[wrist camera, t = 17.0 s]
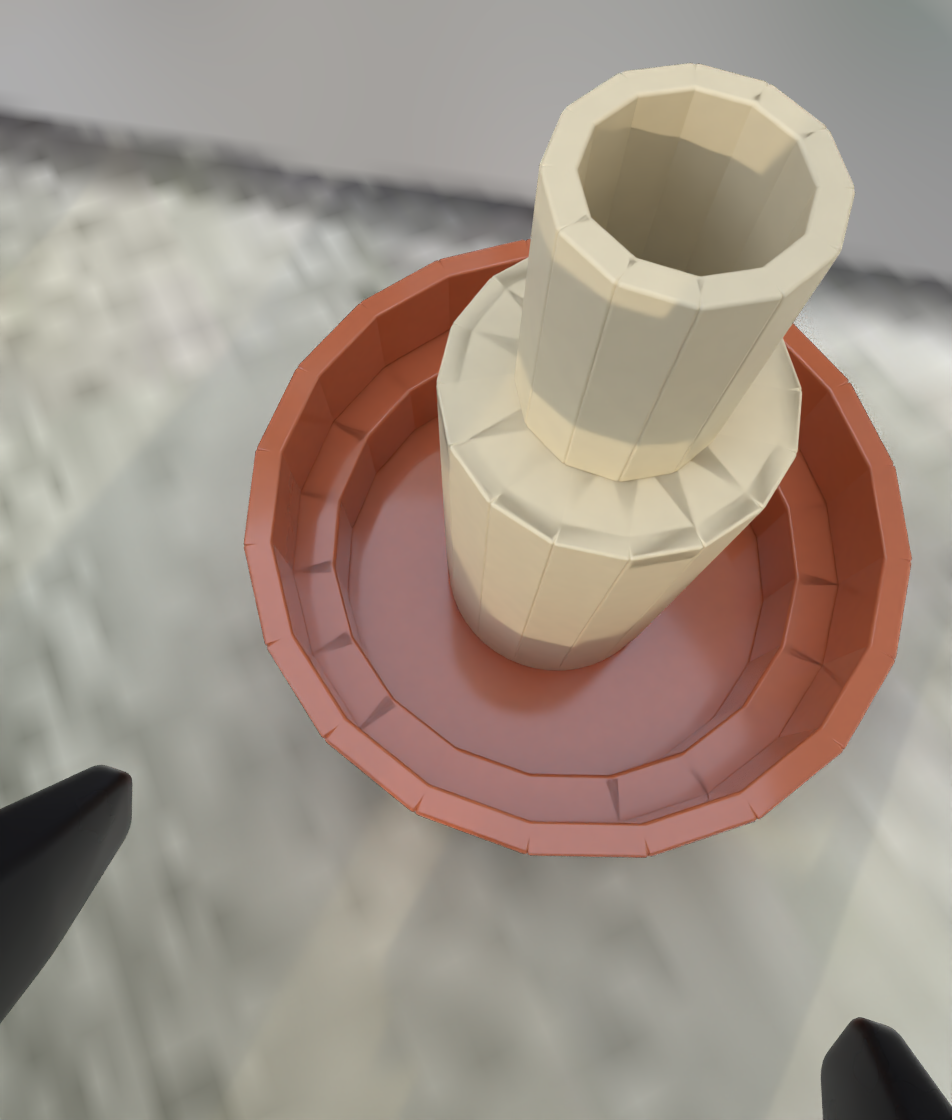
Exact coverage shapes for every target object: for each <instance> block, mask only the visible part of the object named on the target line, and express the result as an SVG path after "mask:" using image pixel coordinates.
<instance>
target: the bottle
mask: <svg viewBox="0 0 952 1120" xmlns="http://www.w3.org/2000/svg"><path fill="white" fill-rule="evenodd" d="M854 195H855V191H854V184H853V182H852V180H851V178H850V175H849V173H848V171H847V169H846V166H845V164H844V162H843V159H842V157H841V155H840V153H839V151H838V148H837V146H836V144H835V142H834V139H833V137H832V135H831V132H830V131H829V130H828V129H826V126H825V125H824V124H823V123H822V122H820V121H819V120H818V119H816V118H815V117H814V116H813V115H811V114H810V113H809V112H807V111H806V110H805V109H803V108H802V107H801V106H800V105H798V104H797V103H796V102H794V101H793V100H792V99H790V98H789V97H788V96H787V95H785V94H784V93H783V92H781V91H780V90H779V89H778V88H776V87H775V86H774V85H772V84H768V83H767V82H766V81H762V80H759V79H755V78H751V77H747V76H744V75H740V74H736V73H733V72H728V71H725V70H721V69H717V68H714V67H710V66H706V65H703V64H695V65H694V64H693V63H686V64H678V65H669V66H661V67H653V68H645V69H636V70H628V71H624V72H622V73H618V74H616V75H614V76H613V77H612V78H610V79H608V80H607V81H605V82H604V83H602V84H601V85H599V86H597V87H596V88H594V89H593V90H592V91H590V92H588V93H587V94H585V95H584V96H582V97H580V98H579V99H578V100H576V101H575V102H573V103H571V104H570V105H568V106H567V107H566V109H565V110H564V111H563V112H562V113H561V115H560V118H559V120H558V123H557V125H556V127H555V129H554V132H553V134H552V137H551V139H550V141H549V144H548V146H547V148H546V151H545V153H544V156H543V158H542V160H541V162H540V165H539V174H538V182H537V191H536V199H535V207H534V216H533V224H532V233H531V241H530V249H529V257H528V258H526V259H524V260H522V261H521V262H519V263H517V264H515V265H513V266H511V267H509V268H507V269H505V270H503V271H502V272H500V273H498V274H496V275H494V276H493V277H492V278H490V279H489V280H488V281H487V283H486V284H485V285H484V286H483V287H482V289H481V290H480V291H479V292H478V293H477V295H476V296H475V297H474V298H473V299H472V301H471V302H470V303H469V304H468V305H467V307H466V308H465V309H464V310H463V311H462V313H461V314H460V315H459V316H458V317H457V319H456V320H455V321H454V322H453V325H452V326H451V328H450V332H449V336H448V340H447V344H446V347H445V351H444V355H443V359H442V362H441V366H440V370H439V374H438V377H437V386H436V390H437V406H438V422H439V439H440V455H441V471H442V487H443V504H444V520H445V536H446V553H447V563H448V568H449V575H450V583H451V588H452V592H453V596H454V599H455V601H456V604H457V606H458V609H459V611H460V613H461V614H462V616H463V618H464V620H465V621H466V623H467V624H468V625H469V627H470V628H471V629H472V631H473V632H474V633H475V634H476V635H477V636H478V637H479V638H480V639H481V640H482V641H483V642H484V643H485V644H486V645H487V646H489V647H490V648H491V649H493V650H494V651H495V652H497V653H499V654H500V655H502V656H504V657H505V658H507V659H509V660H512V661H514V662H516V663H519V664H521V665H525V666H529V667H532V668H537V669H544V670H571V669H578V668H582V667H586V666H590V665H593V664H595V663H598V662H600V661H603V660H605V659H606V658H608V657H610V656H612V655H613V654H615V653H616V652H618V651H619V650H620V649H622V648H623V647H624V646H626V645H627V644H628V643H629V642H631V641H632V640H634V639H635V638H636V637H637V636H638V635H639V634H640V633H641V632H642V631H643V630H644V629H645V628H646V627H647V626H648V625H649V624H650V623H651V622H652V621H653V620H654V619H655V618H656V617H657V616H658V615H659V614H660V613H661V612H662V611H663V610H664V609H665V608H666V607H667V606H668V605H669V604H670V603H671V602H672V601H673V600H674V599H675V598H676V597H677V596H678V595H679V594H680V593H681V592H682V591H683V590H684V589H685V588H686V587H687V586H688V585H689V584H690V583H691V582H692V581H693V580H694V579H695V578H696V577H697V576H698V575H699V574H700V573H701V572H702V571H703V570H704V569H705V568H706V567H707V566H708V565H709V564H710V563H711V562H712V561H713V560H714V559H715V558H716V557H717V556H718V555H719V554H720V553H721V552H722V551H723V550H724V549H725V548H726V547H727V546H728V545H729V544H730V543H731V542H732V541H733V540H734V539H735V538H736V537H737V536H738V535H739V534H740V533H741V532H742V531H743V530H744V529H745V528H746V527H747V526H748V524H749V523H750V522H751V521H752V520H753V519H754V518H755V517H756V516H757V515H758V514H759V513H760V512H761V511H762V510H763V509H764V508H765V507H766V505H767V504H768V502H769V500H770V499H771V497H772V495H773V494H774V492H775V490H776V489H777V487H778V485H779V484H780V482H781V480H782V479H783V477H784V476H785V474H786V472H787V471H788V469H789V467H790V466H791V464H792V462H793V461H794V459H795V457H796V453H797V452H798V440H799V427H800V415H801V402H802V391H801V385H800V383H799V380H798V377H797V374H796V372H795V369H794V366H793V364H792V361H791V358H790V356H789V353H788V350H787V348H786V345H785V342H784V340H783V337H784V335H785V334H786V332H787V331H788V329H789V328H790V327H791V325H792V324H793V322H794V321H795V319H796V318H797V316H798V315H799V313H800V312H801V310H802V309H803V307H804V306H805V304H806V303H807V301H808V300H809V298H810V297H811V295H812V294H813V292H814V291H815V289H816V288H817V286H818V285H819V284H820V282H821V281H822V279H823V278H824V276H825V275H826V273H827V272H828V270H829V269H830V267H831V266H832V264H833V263H834V261H835V260H836V258H837V257H838V255H839V254H840V252H841V250H842V246H843V242H844V237H845V233H846V229H847V225H848V221H849V217H850V212H851V208H852V204H853V200H854Z"/></svg>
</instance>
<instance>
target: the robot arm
mask: <svg viewBox="0 0 952 1120" xmlns="http://www.w3.org/2000/svg"><path fill="white" fill-rule="evenodd" d="M131 819H132V778H131V776H130V775H129V774H128V773H126V772H124V771H121V770H118V769H115V768H112V767H109V766H105V765H97V766H93V767H91V768H88V769H86V770H84V771H82V772H80V773H78V774H75V775H73V776H71V777H69V778H67V779H65V780H62V781H60V782H58V783H56V784H54V785H52V786H49V787H47V788H45V789H43V790H41V791H39V792H36V793H34V794H32V795H30V796H28V797H25V798H23V799H21V800H19V801H17V802H15V803H12V804H10V805H8V806H6V807H4V808H2V809H0V1023H1V1022H2V1021H3V1019H4V1018H5V1017H6V1015H7V1014H8V1013H9V1011H10V1010H11V1009H12V1007H13V1006H14V1005H15V1004H16V1002H17V1001H18V1000H19V998H20V997H21V996H22V994H23V993H24V992H25V990H26V989H27V988H28V987H29V985H30V984H31V983H32V981H33V980H34V979H35V977H36V976H37V975H38V973H39V972H40V971H41V969H42V968H43V967H44V965H45V964H46V962H47V961H48V960H49V958H50V957H51V956H52V954H53V953H54V951H55V950H56V948H57V947H58V945H59V943H60V942H61V940H62V939H63V937H64V936H65V934H66V933H67V931H68V929H69V928H70V926H71V925H72V923H73V921H74V920H75V918H76V917H77V915H78V913H79V912H80V910H81V909H82V907H83V905H84V904H85V902H86V901H87V899H88V897H89V896H90V894H91V893H92V891H93V889H94V888H95V886H96V884H97V883H98V881H99V880H100V878H101V876H102V875H103V873H104V872H105V870H106V868H107V867H108V865H109V864H110V862H111V860H112V859H113V857H114V856H115V854H116V852H117V851H118V849H119V848H120V846H121V844H122V843H123V841H124V839H125V838H126V835H127V833H128V831H129V828H130V825H131ZM821 1090H822V1109H823V1120H952V1106H951V1105H950V1103H949V1102H948V1101H947V1099H946V1098H945V1096H944V1095H943V1094H942V1092H941V1091H940V1090H939V1088H938V1087H937V1085H936V1084H935V1083H934V1081H933V1080H932V1078H931V1077H930V1076H929V1074H928V1073H927V1072H926V1070H925V1069H924V1067H923V1066H922V1065H921V1063H920V1062H919V1060H918V1059H917V1058H916V1056H915V1055H914V1054H913V1052H912V1051H911V1049H910V1048H909V1047H908V1045H907V1044H906V1042H905V1041H904V1040H903V1038H902V1037H901V1036H900V1035H899V1034H898V1033H897V1032H896V1031H895V1030H894V1029H892V1028H891V1027H889V1026H886V1025H883V1024H880V1023H877V1022H874V1021H871V1020H868V1019H865V1018H861V1017H858V1018H856V1019H853V1020H852V1021H851V1022H850V1023H849V1024H848V1026H847V1027H846V1028H845V1030H844V1031H843V1032H842V1034H841V1035H840V1036H839V1038H838V1039H837V1040H836V1042H835V1043H834V1044H833V1046H832V1047H831V1048H830V1050H829V1051H828V1052H827V1054H826V1055H825V1058H824V1060H823V1064H822V1068H821Z"/></svg>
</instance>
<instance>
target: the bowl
mask: <svg viewBox="0 0 952 1120" xmlns="http://www.w3.org/2000/svg"><path fill="white" fill-rule="evenodd" d="M530 241H531V239H527V240H526V241H525V240H519V241H515V242H511V243H507V244H502V245H498V246H494V247H490V248H485V249H481V250H477V251H473V252H468V253H464V254H460V255H456V256H451V257H447V258H443V259H440V260H439V261H438V260H437V261H434V262H433V263H431V264H429V265H427V266H425V267H424V268H422V269H420V270H418V271H416V272H414V273H413V274H411V275H409V276H407V277H405V278H404V279H402V280H400V281H398V282H396V283H394V284H393V285H391V286H389V287H387V288H385V289H384V290H382V291H380V292H378V293H376V294H374V295H373V296H371V297H369V298H367V299H365V300H364V301H362V302H361V304H358V305H357V306H356V307H355V308H354V309H353V310H352V311H351V312H350V313H349V314H348V315H347V316H346V317H345V318H344V319H343V320H342V321H341V322H340V323H339V324H338V325H337V327H336V328H335V329H334V330H333V331H332V332H331V333H330V334H329V335H328V336H327V337H326V338H325V339H324V340H323V341H322V342H321V343H320V344H319V345H318V346H317V347H316V348H315V349H314V350H313V351H312V352H311V353H310V354H309V355H308V356H307V357H306V358H305V359H304V360H303V361H302V362H301V363H300V364H299V366H298V368H297V369H296V370H295V372H294V374H293V376H292V378H291V380H290V382H289V384H288V386H287V388H286V390H285V392H284V394H283V396H282V398H281V400H280V402H279V404H278V407H277V409H276V411H275V413H274V415H273V417H272V419H271V421H270V423H269V425H268V427H267V429H266V431H265V433H264V435H263V437H262V439H261V441H260V443H259V445H258V447H257V450H256V452H255V459H254V467H253V475H252V483H251V490H250V498H249V506H248V514H247V522H246V530H245V538H244V545H245V546H244V550H245V555H246V560H247V564H248V569H249V573H250V578H251V583H252V587H253V592H254V596H255V601H256V606H257V610H258V615H259V619H260V624H261V629H262V633H263V638H264V642H265V645H266V646H267V650H268V651H269V653H270V654H271V656H272V658H273V659H274V661H275V663H276V664H277V666H278V667H279V669H280V671H281V672H282V674H283V676H284V677H285V679H286V680H287V682H288V684H289V685H290V687H291V688H292V690H293V692H294V693H295V695H296V697H297V698H298V700H299V701H300V703H301V705H302V706H303V708H304V709H305V711H306V713H307V714H308V716H309V718H310V719H311V721H312V722H313V724H314V726H315V727H316V729H317V731H318V732H319V734H320V735H321V737H322V738H324V739H325V741H326V743H328V744H329V745H330V746H331V747H333V748H334V749H335V750H336V751H337V752H339V753H340V754H341V755H342V756H344V757H345V758H346V759H347V760H349V761H350V762H351V763H352V764H353V765H355V766H356V767H357V768H358V769H360V770H361V771H362V772H363V773H364V774H366V775H367V776H368V777H369V778H371V779H372V780H373V781H374V782H376V783H377V784H378V785H379V786H380V787H382V788H383V789H384V790H385V791H387V792H388V793H389V794H390V795H392V796H393V797H394V798H395V799H396V800H398V801H399V802H400V803H401V804H403V805H404V806H405V807H406V808H407V809H409V810H410V811H412V812H415V813H416V814H417V815H419V816H421V817H424V818H427V819H430V820H432V821H435V822H438V823H440V824H443V825H446V826H449V827H451V828H454V829H457V830H459V831H462V832H465V833H468V834H470V835H473V836H476V837H478V838H481V839H484V840H487V841H489V842H492V843H495V844H497V845H500V846H503V847H506V848H508V849H511V850H514V851H516V852H519V853H522V854H528V855H530V856H577V857H629V858H646V857H647V856H654V855H657V854H660V853H663V852H666V851H669V850H672V849H675V848H678V847H681V846H684V845H687V844H690V843H693V842H696V841H699V840H702V839H705V838H708V837H711V836H714V835H717V834H720V833H723V832H726V831H728V830H731V829H734V828H737V827H740V826H743V825H746V824H749V823H752V822H755V821H756V820H757V819H761V818H762V817H763V816H765V815H766V814H767V813H768V812H769V811H771V810H772V809H773V808H774V807H776V806H777V805H778V804H779V803H781V802H782V801H783V800H784V799H785V798H787V797H788V796H789V795H790V794H792V793H793V792H794V791H795V790H796V789H798V788H799V787H800V786H801V785H803V784H804V783H805V782H806V781H808V780H809V779H810V778H811V777H812V776H814V775H815V774H816V773H817V772H819V771H820V770H821V769H822V768H823V767H825V766H826V765H827V764H828V763H830V762H831V761H832V760H833V759H835V758H836V757H837V756H838V755H839V754H841V753H842V751H843V749H845V748H846V746H847V744H848V742H849V741H850V739H851V737H852V736H853V734H854V732H855V730H856V729H857V727H858V725H859V723H860V722H861V720H862V718H863V716H864V715H865V713H866V711H867V709H868V708H869V706H870V704H871V702H872V701H873V699H874V697H875V695H876V694H877V692H878V690H879V688H880V687H881V685H882V683H883V681H884V680H885V678H886V676H887V674H888V673H889V671H890V669H891V667H892V666H893V664H894V662H895V660H894V659H895V658H896V655H897V648H898V642H899V636H900V630H901V624H902V618H903V611H904V605H905V599H906V593H907V587H908V581H909V574H910V568H911V562H910V561H911V560H912V557H911V552H910V546H909V541H908V535H907V529H906V524H905V518H904V513H903V507H902V502H901V496H900V491H899V485H898V480H897V474H896V468H895V466H893V462H892V460H891V458H890V456H889V454H888V452H887V450H886V449H885V447H884V445H883V443H882V441H881V439H880V437H879V435H878V433H877V432H876V430H875V428H874V426H873V424H872V422H871V420H870V418H869V417H868V415H867V413H866V411H865V409H864V407H863V405H862V403H861V402H860V400H859V398H858V396H857V394H856V392H855V390H854V388H853V387H852V385H851V383H848V379H847V378H846V377H845V376H844V375H843V374H842V373H841V372H840V371H839V370H838V369H837V368H836V367H835V366H834V365H833V364H832V363H831V362H830V361H829V360H828V359H827V358H826V356H825V355H824V354H823V353H822V352H821V351H820V350H819V349H818V348H817V347H816V346H815V345H814V344H813V343H812V342H811V341H810V340H809V339H808V338H807V337H806V336H805V335H804V334H803V333H802V332H801V331H800V330H799V329H798V328H797V327H796V326H795V325H794V324H792V325H791V327H790V328H789V329H788V331H787V332H786V334H785V335H784V337H783V340H784V342H785V345H786V348H787V350H788V353H789V356H790V358H791V361H792V364H793V366H794V369H795V372H796V374H797V377H798V380H799V383H800V385H801V391H802V402H801V415H800V427H799V440H798V452H797V453H796V457H795V459H794V461H793V462H792V464H791V466H790V467H789V469H788V471H787V472H786V474H785V476H784V477H783V479H782V480H781V482H780V484H779V485H778V487H777V489H776V490H775V492H774V494H773V495H772V497H771V499H770V500H769V502H768V504H767V505H766V507H765V508H764V509H763V510H762V511H761V512H760V513H759V514H758V515H757V516H756V517H755V518H754V519H753V520H752V521H751V522H750V523H749V524H748V526H747V527H746V528H745V529H744V530H743V531H742V532H741V533H740V534H739V535H738V536H737V537H736V538H735V539H734V540H733V541H732V542H731V543H730V544H729V545H728V546H727V547H726V548H725V549H724V550H723V551H722V552H721V553H720V554H719V555H718V556H717V557H716V558H715V559H714V560H713V561H712V562H711V563H710V564H709V565H708V566H707V567H706V568H705V569H704V570H703V571H702V572H701V573H700V574H699V575H698V576H697V577H696V578H695V579H694V580H693V581H692V582H691V583H690V584H689V585H688V586H687V587H686V588H685V589H684V590H683V591H682V592H681V593H680V594H679V595H678V596H677V597H676V598H675V599H674V600H673V601H672V602H671V603H670V604H669V605H668V606H667V607H666V608H665V609H664V610H663V611H662V612H661V613H660V614H659V615H658V616H657V617H656V618H655V619H654V620H653V621H652V622H651V623H650V624H649V625H648V626H647V627H646V628H645V629H644V630H643V631H642V632H641V633H640V634H639V635H638V636H637V637H636V638H635V639H634V640H632V641H631V642H629V643H628V644H627V645H626V646H624V647H623V648H622V649H620V650H619V651H618V652H616V653H615V654H613V655H612V656H610V657H608V658H606V659H605V660H603V661H600V662H598V663H595V664H593V665H590V666H586V667H582V668H578V669H571V670H544V669H537V668H532V667H529V666H525V665H521V664H519V663H516V662H514V661H512V660H509V659H507V658H505V657H504V656H502V655H500V654H499V653H497V652H495V651H494V650H493V649H491V648H490V647H489V646H487V645H486V644H485V643H484V642H483V641H482V640H481V639H480V638H479V637H478V636H477V635H476V634H475V633H474V632H473V631H472V629H471V628H470V627H469V625H468V624H467V623H466V621H465V620H464V618H463V616H462V614H461V613H460V611H459V609H458V606H457V604H456V601H455V599H454V596H453V592H452V588H451V583H450V575H449V568H448V563H447V553H446V536H445V520H444V504H443V487H442V471H441V455H440V439H439V422H438V406H437V390H436V386H437V377H438V374H439V370H440V366H441V362H442V359H443V355H444V351H445V347H446V344H447V340H448V336H449V332H450V328H451V326H452V325H453V322H454V321H455V320H456V319H457V317H458V316H459V315H460V314H461V313H462V311H463V310H464V309H465V308H466V307H467V305H468V304H469V303H470V302H471V301H472V299H473V298H474V297H475V296H476V295H477V293H478V292H479V291H480V290H481V289H482V287H483V286H484V285H485V284H486V283H487V281H488V280H489V279H490V278H492V277H493V276H494V275H496V274H498V273H500V272H502V271H503V270H505V269H507V268H509V267H511V266H513V265H515V264H517V263H519V262H521V261H522V260H524V259H526V258H528V257H529V249H530Z"/></svg>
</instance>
